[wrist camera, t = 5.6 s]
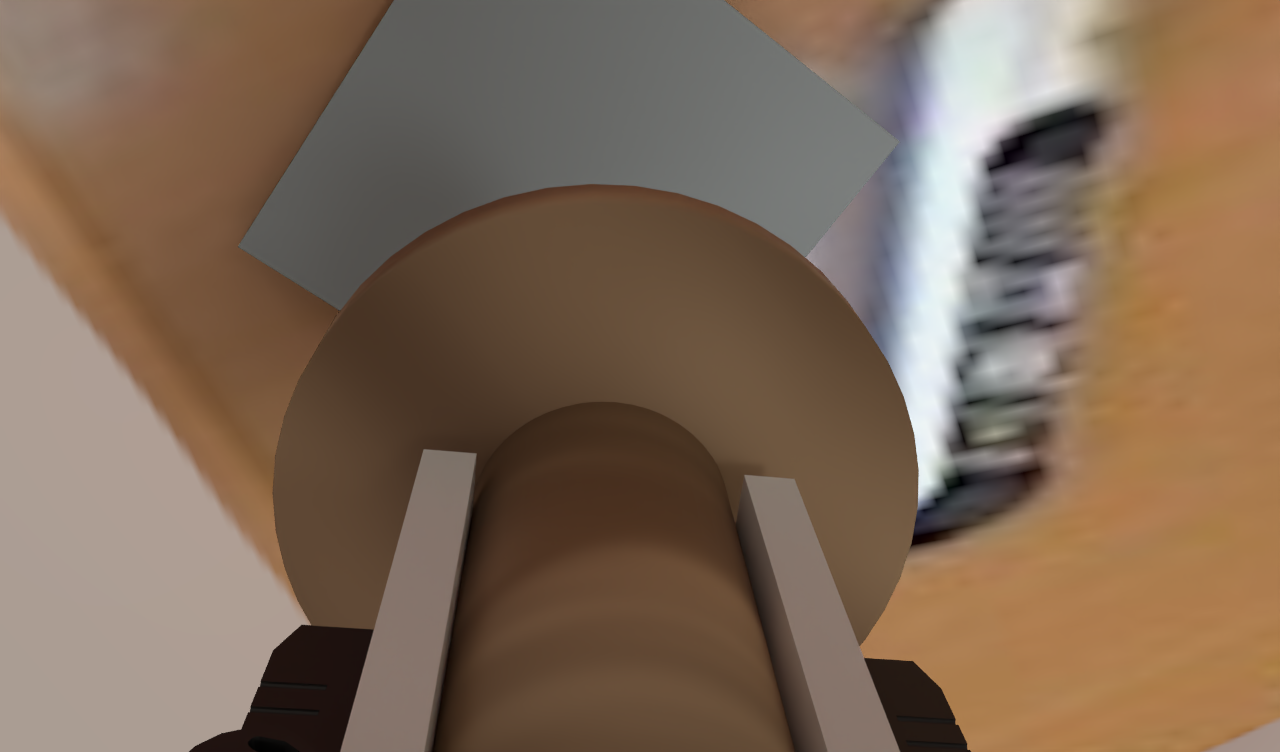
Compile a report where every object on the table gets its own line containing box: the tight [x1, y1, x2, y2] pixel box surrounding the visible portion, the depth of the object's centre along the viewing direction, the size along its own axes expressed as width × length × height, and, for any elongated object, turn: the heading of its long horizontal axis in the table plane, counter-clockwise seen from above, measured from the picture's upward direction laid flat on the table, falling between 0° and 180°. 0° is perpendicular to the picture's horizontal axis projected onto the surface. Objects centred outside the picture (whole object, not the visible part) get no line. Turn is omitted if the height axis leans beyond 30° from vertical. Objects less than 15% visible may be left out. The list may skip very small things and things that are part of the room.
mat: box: [238, 0, 899, 310], centre depth 38 cm, size 16×16×1 cm
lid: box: [273, 184, 919, 752], centre depth 14 cm, size 10×10×9 cm
